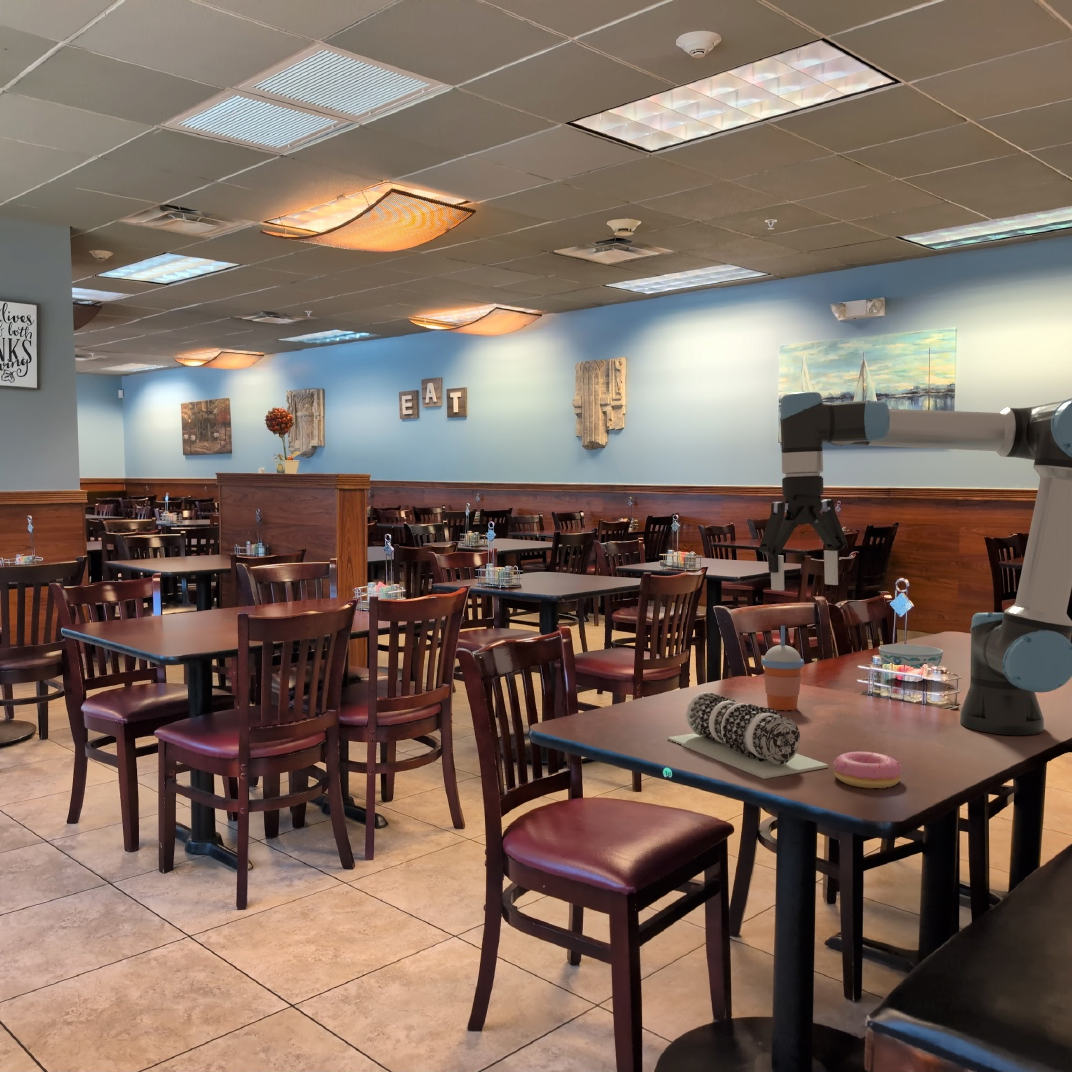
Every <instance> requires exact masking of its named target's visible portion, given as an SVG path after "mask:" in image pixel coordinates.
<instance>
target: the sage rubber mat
mask: <svg viewBox="0 0 1072 1072" xmlns="http://www.w3.org/2000/svg"><path fill="white" fill-rule="evenodd" d="M668 739H669V740H671V741H670V742H672V741H674V742H676V743H675V744H677V743H679V744H681V745H680V746H683V747H684V748H687V749H689V748H690V750H692V751H695V752H697V753H699V754H702V755H705V756H707V757H709V758H712V759H715V760H716V761H719V762H721V763H723V764H727V765H729V766H732V767H734V768H737V769H739V770H742V771H744V772H746V773H748V774H751V775H753V776H756V777H759V778H761V779H770V778H777V777H781V776H786V775H787V776H788V775H792V774H793V775H794V774H799V773H804V772H805V773H806V772H810V771H816V770H821V769H826V768H829V764H828V763H825V762H822V761H819V760H816V759H813V758H811V757H807V756H804V755H802V754H799V753H798V752H796V754H795V756H794V757H793V758H792V759H791V760H790V761H788V762H787V763H784V764H780V765H777V764H773V763H771V762H770V761H768V760H767V761H766V760H764V761H763V762H760V761H759V760H758V758H753V757H748V756H747V755H746V754H742V753H741V751H736V750H735V749H731V748H730V746H728V745H727V744H725V743H721V744H720V743H718V742H714V741H713V740H709V739H708V737H706V738H704V737H703V736H699V735H697V734H695V733H694V732H693V733H688V734H680V735H674V736H668V737H667V740H668ZM669 740H668V741H669ZM674 742H673V743H674ZM679 744H678V745H679ZM748 752H750V751H748Z"/></svg>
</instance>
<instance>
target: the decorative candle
mask: <svg viewBox="0 0 1072 1072" xmlns="http://www.w3.org/2000/svg"><path fill="white" fill-rule="evenodd" d="M777 711H778V710H773V709H770V708H769V707H764V706H760V707H759V706H758V705H755V704H752V703H750V704H748V703H747V704H746V703H743V702H741V703H739V702H737V701H736V700H735V699H731V698H729V697H725V696H724V695H720V694H716V693H713V692H708V691H704V692H699V693H698V694H696V695H695V696H693V697H692V698H691V700H690V702H689V703H688V704H687V708H686V711H685V719H686V723H687V727H689V730H690V731H691V732H693V733H695V734H697V735H699V736H703V737H704V738H706V737H708V739H709V740H713V741H714V742H718V743H720V744H721V743H725V744H727V745H728V746H730V748H731V749H735V750H736V751H741V753H742V754H746V755H747V756H748V757H753V758H758V760H759V761H760V762H763V761H764V760H766V761H767V760H768V761H770V762H771V763H773V764H777V765H780V764H784V763H787V762H788V761H790V760H791V759H792V758H793V757H794V756H795V754H796V753H798V751H799V748H800V744H801V733H800V732H801V731H800V730H799V728H798V727H799V726H798V725H797V723H795V722H794V720H792V719H791V718H788V717H784V716H783V715H782V714H780V713H779V714H778V712H777ZM748 751H750V752H748Z"/></svg>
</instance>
